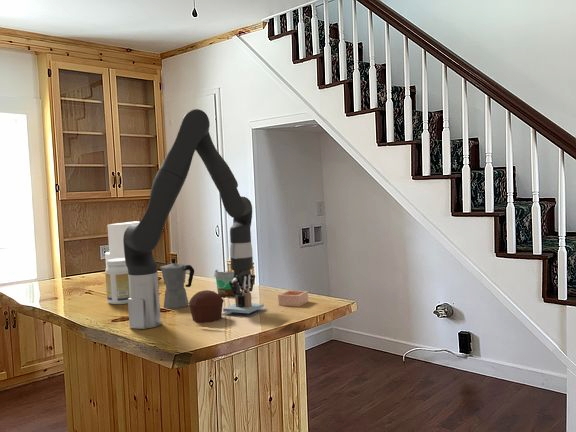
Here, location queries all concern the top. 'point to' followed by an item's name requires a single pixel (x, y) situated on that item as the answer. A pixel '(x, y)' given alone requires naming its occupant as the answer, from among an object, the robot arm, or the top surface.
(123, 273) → the supplement tub
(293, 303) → the dish
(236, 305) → the lid
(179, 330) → the top surface
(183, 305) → the coffeepot
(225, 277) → the food container
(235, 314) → the mat
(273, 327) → the top surface
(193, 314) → the muffin
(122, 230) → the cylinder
